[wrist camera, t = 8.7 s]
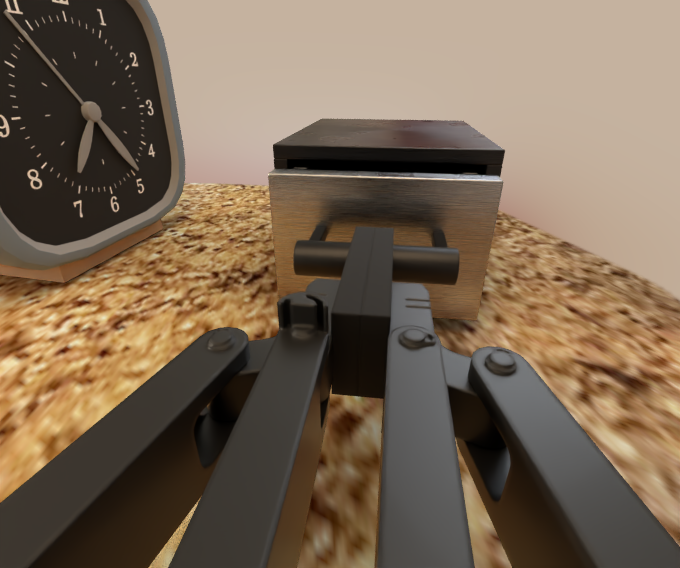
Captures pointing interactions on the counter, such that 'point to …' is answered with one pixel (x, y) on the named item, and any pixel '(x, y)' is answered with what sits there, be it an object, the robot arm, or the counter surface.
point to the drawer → (387, 225)
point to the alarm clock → (83, 134)
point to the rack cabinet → (391, 144)
